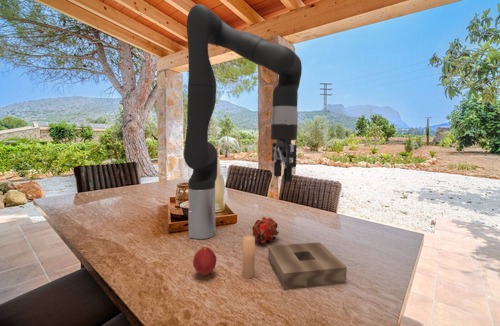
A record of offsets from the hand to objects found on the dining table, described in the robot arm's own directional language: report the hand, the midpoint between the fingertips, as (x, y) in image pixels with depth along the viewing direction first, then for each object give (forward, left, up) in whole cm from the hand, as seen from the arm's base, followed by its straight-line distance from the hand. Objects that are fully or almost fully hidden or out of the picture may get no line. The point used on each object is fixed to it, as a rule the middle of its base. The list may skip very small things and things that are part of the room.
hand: (282, 178), depth 71 cm
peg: (-12, -10, -23) cm, 28 cm away
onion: (-23, -8, -23) cm, 33 cm away
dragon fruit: (-3, +9, -23) cm, 25 cm away
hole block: (+3, -10, -23) cm, 25 cm away
